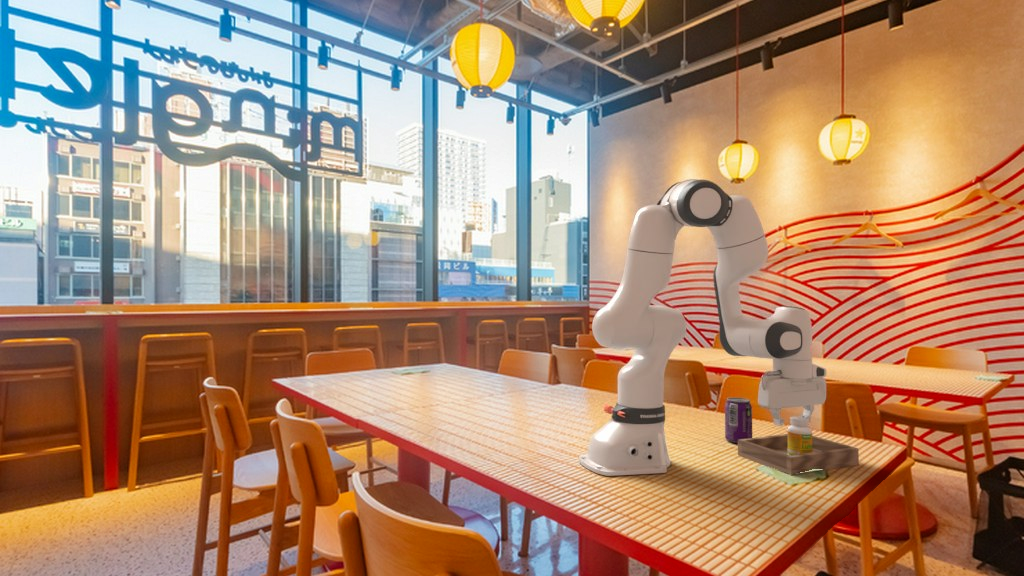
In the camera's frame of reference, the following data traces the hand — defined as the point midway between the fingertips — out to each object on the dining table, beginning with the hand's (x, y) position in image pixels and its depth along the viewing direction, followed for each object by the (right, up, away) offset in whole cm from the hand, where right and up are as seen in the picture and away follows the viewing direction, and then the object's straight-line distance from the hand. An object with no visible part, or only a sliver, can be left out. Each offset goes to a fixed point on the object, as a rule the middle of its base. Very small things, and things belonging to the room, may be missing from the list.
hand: (792, 423), depth 126 cm
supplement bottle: (0, -8, -3) cm, 8 cm away
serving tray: (0, -9, -2) cm, 9 cm away
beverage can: (-7, -9, +15) cm, 19 cm away
